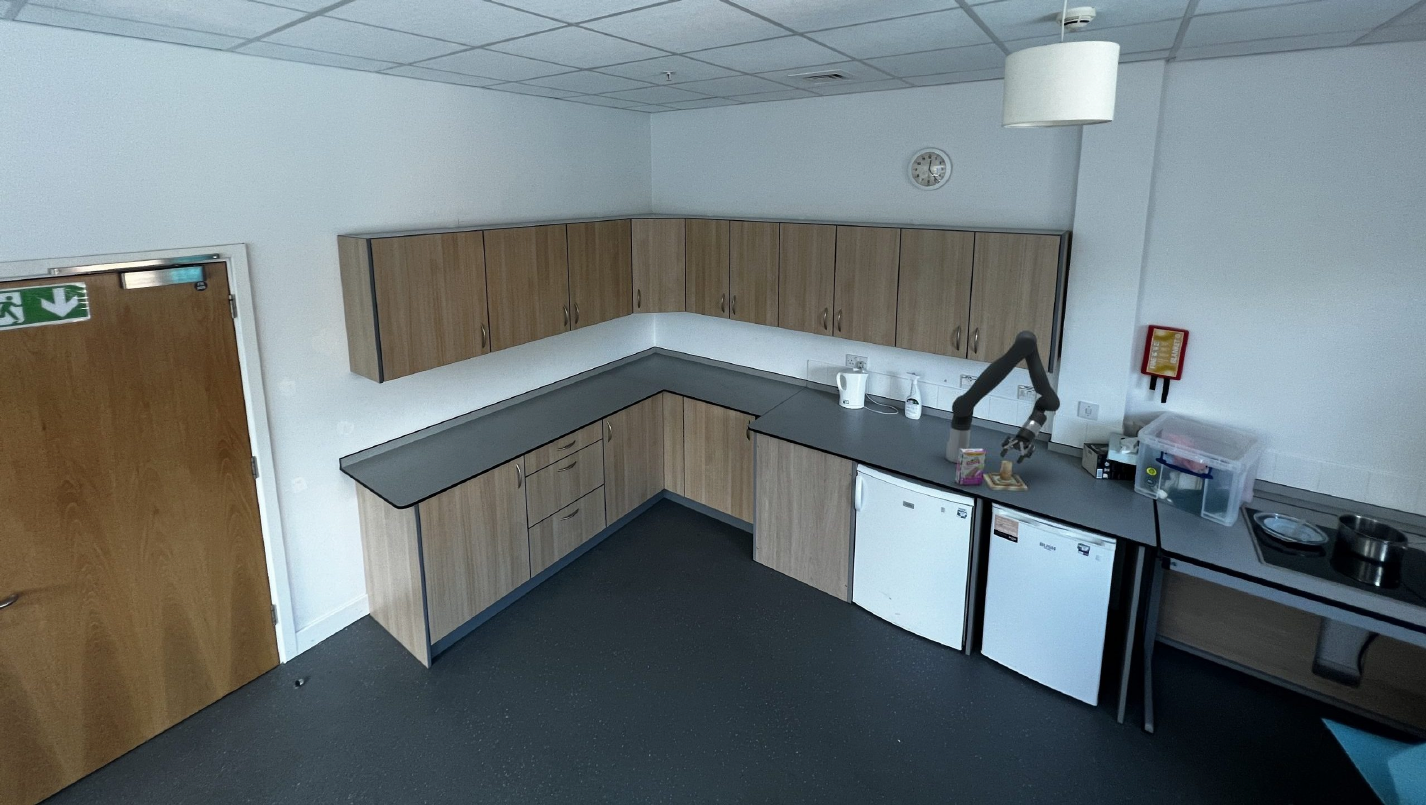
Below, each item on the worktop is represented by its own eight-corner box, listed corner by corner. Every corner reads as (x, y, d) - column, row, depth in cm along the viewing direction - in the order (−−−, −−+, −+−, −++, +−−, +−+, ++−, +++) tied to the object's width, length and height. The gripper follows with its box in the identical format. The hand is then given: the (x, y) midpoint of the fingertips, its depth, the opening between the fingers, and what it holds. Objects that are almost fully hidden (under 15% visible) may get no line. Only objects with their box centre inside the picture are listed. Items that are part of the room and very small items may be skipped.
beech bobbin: (994, 479, 329) (996, 461, 326) (1003, 476, 332) (1005, 458, 329) (1006, 484, 324) (1008, 466, 321) (1015, 481, 327) (1017, 463, 324)
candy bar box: (958, 485, 327) (962, 452, 322) (954, 480, 332) (958, 448, 326) (982, 484, 327) (986, 452, 322) (978, 480, 332) (982, 447, 327)
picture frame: (990, 489, 322) (991, 484, 322) (982, 476, 336) (983, 471, 335) (1027, 490, 321) (1027, 485, 320) (1017, 477, 334) (1018, 472, 333)
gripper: (1012, 422, 331) (993, 450, 329) (1039, 432, 319) (1020, 460, 317) (1018, 431, 335) (999, 458, 333) (1045, 440, 324) (1026, 469, 322)
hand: (1009, 459), depth 325 cm, fingers open, 8 cm apart
